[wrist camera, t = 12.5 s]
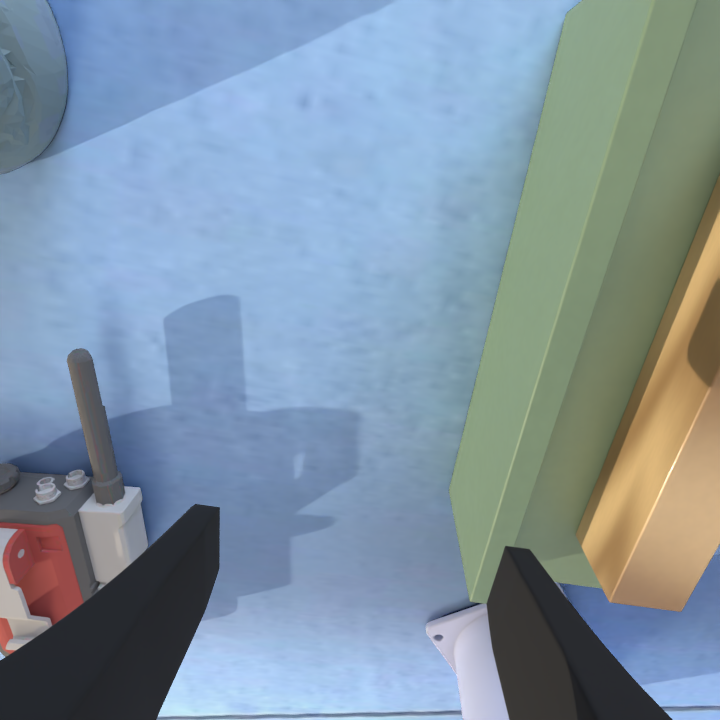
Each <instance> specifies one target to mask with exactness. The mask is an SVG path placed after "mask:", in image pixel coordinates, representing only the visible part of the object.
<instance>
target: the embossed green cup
mask: <svg viewBox="0 0 720 720" xmlns="http://www.w3.org/2000/svg"><path fill="white" fill-rule="evenodd" d="M67 92H68V80H67V64H66V57H65V51H64V47H63V44H62V40H61V36H60V32H59V28H58V26H57V23H56V21H55V18H54V16H53V13H52V11H51V8H50V6H49V4H48V3H47V1H46V0H0V174H4V173H8V172H10V171H13V170H15V169H18V168H20V167H22V166H24V165H25V164H27V163H28V162H30V161H32V160H33V159H34V158H35V157H37V156H39V155H40V154H41V153H42V152H43V151H44V150H45V149H46V148H47V146H48V145H49V144H50V143H51V141H52V139H53V137H54V136H55V134H56V132H57V130H58V127H59V125H60V122H61V119H62V116H63V113H64V110H65V106H66V99H67Z"/></svg>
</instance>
